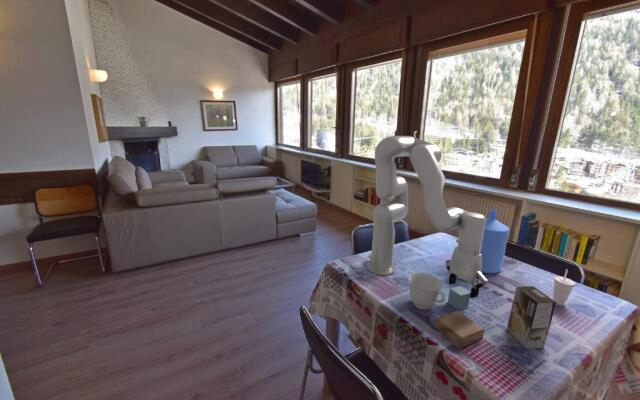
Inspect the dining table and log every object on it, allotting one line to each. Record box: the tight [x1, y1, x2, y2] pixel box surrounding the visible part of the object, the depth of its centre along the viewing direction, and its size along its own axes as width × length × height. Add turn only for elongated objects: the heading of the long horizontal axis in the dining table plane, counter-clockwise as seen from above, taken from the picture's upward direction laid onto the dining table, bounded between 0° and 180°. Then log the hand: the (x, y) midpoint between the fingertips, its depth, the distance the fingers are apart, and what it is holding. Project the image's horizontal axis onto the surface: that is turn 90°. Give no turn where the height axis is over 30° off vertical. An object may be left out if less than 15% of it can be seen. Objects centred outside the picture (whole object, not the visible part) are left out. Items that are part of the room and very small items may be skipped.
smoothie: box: [552, 269, 576, 306], centre depth 112 cm, size 6×6×14 cm
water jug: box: [480, 209, 510, 274], centre depth 137 cm, size 16×16×28 cm
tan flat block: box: [434, 310, 485, 349], centre depth 94 cm, size 10×10×4 cm
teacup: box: [407, 272, 446, 310], centre depth 106 cm, size 12×15×10 cm
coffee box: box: [506, 285, 557, 350], centre depth 91 cm, size 9×6×16 cm
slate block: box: [447, 285, 471, 311], centre depth 109 cm, size 5×5×6 cm
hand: (462, 290), depth 108 cm, fingers open, 9 cm apart
